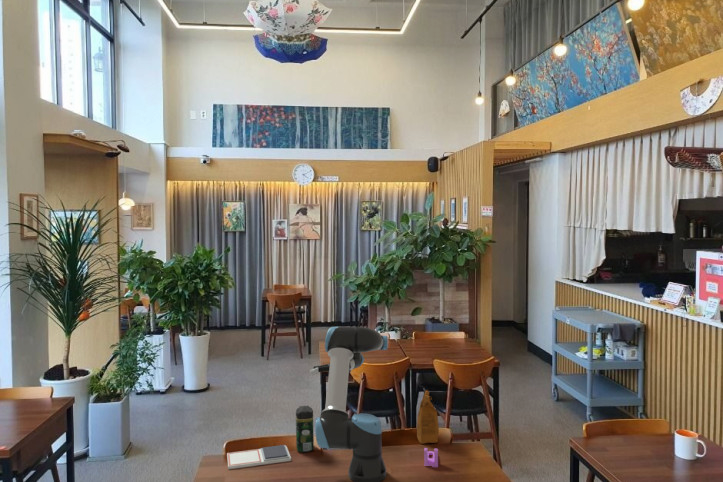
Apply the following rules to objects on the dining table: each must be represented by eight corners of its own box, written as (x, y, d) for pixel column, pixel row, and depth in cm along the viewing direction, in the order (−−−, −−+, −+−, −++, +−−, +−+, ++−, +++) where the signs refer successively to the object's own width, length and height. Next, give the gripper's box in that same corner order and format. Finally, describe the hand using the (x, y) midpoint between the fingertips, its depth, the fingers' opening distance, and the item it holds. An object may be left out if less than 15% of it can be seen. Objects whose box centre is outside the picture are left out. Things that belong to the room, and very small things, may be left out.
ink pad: (289, 457, 216) (289, 455, 216) (263, 461, 212) (263, 458, 212) (285, 446, 228) (285, 444, 228) (260, 449, 225) (260, 447, 225)
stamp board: (291, 460, 215) (291, 457, 215) (228, 469, 208) (228, 466, 208) (286, 448, 229) (286, 445, 229) (227, 455, 221) (227, 452, 221)
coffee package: (437, 434, 243) (436, 389, 243) (439, 445, 231) (438, 397, 231) (416, 434, 244) (415, 389, 244) (417, 444, 231) (417, 396, 231)
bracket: (438, 467, 208) (437, 450, 208) (424, 467, 208) (424, 450, 209) (436, 454, 221) (436, 438, 221) (424, 454, 221) (424, 438, 221)
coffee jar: (295, 445, 232) (295, 404, 232) (312, 443, 234) (312, 403, 234) (296, 453, 223) (296, 411, 223) (314, 452, 224) (313, 410, 224)
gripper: (366, 375, 254) (344, 386, 235) (324, 369, 265) (300, 379, 247) (365, 360, 254) (344, 370, 235) (323, 355, 265) (300, 364, 247)
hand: (322, 375), depth 241 cm, fingers open, 13 cm apart
